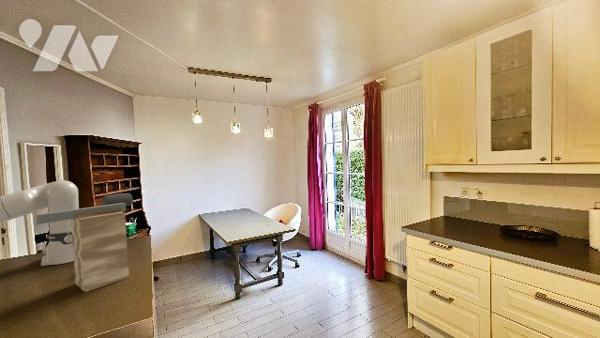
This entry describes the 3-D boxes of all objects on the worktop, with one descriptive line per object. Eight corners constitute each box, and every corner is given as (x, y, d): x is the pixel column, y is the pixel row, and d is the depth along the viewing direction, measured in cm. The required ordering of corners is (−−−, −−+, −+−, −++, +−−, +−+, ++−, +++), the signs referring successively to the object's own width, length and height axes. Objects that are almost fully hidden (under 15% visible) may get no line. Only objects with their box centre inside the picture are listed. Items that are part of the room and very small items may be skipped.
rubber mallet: (109, 253, 136) (105, 195, 135) (104, 251, 141) (101, 195, 140) (136, 246, 146) (132, 192, 145) (131, 244, 151) (127, 192, 150)
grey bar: (36, 223, 90) (35, 214, 90) (123, 210, 111) (122, 202, 111) (38, 224, 88) (37, 215, 88) (125, 210, 109) (125, 203, 109)
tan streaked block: (75, 283, 101) (70, 213, 101) (117, 270, 113) (113, 207, 112) (85, 292, 94) (79, 216, 93) (129, 277, 105) (124, 209, 105)
